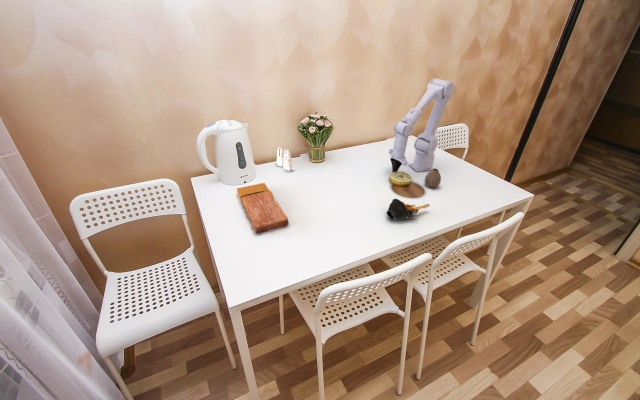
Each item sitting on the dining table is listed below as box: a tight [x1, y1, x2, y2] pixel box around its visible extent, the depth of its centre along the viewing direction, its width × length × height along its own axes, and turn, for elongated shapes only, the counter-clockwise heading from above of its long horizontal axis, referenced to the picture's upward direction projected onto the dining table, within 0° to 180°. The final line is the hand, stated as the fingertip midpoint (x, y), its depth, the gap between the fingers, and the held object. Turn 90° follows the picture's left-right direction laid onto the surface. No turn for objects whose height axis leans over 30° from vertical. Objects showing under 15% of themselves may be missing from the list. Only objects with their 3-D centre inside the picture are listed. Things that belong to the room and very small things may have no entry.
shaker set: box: [276, 146, 296, 172], centre depth 146 cm, size 12×4×11 cm, turn 38°
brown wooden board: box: [236, 182, 289, 235], centre depth 117 cm, size 13×30×3 cm, turn 26°
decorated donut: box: [388, 170, 413, 186], centre depth 139 cm, size 10×11×4 cm
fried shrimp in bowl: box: [386, 198, 430, 221], centre depth 116 cm, size 9×11×18 cm
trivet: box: [391, 181, 425, 199], centre depth 135 cm, size 15×15×1 cm
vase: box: [424, 168, 442, 189], centre depth 136 cm, size 7×7×9 cm
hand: (394, 172), depth 144 cm, fingers closed
